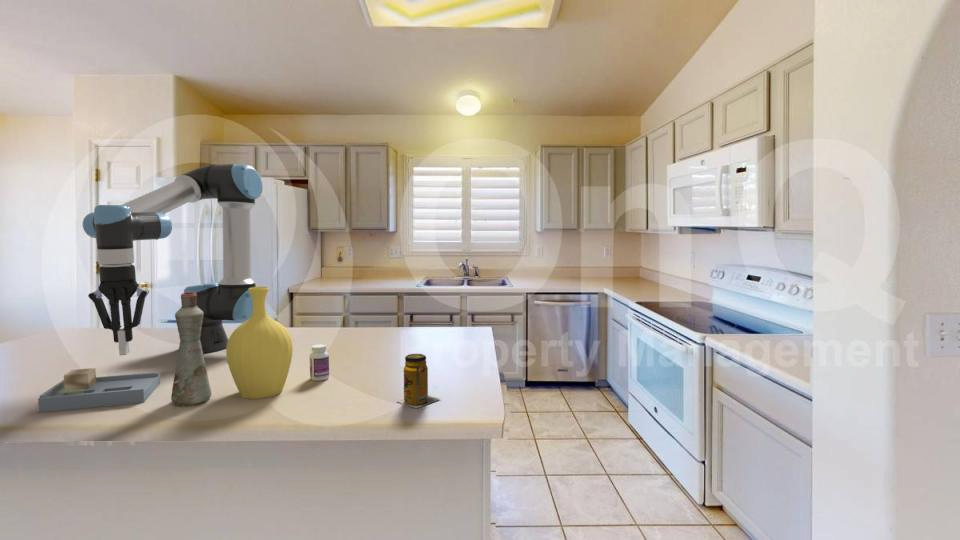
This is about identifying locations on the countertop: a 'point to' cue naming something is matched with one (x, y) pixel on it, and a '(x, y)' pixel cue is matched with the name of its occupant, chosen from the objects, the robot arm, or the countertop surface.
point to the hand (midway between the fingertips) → (124, 353)
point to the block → (80, 379)
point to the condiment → (416, 382)
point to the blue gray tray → (101, 393)
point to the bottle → (190, 356)
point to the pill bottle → (319, 363)
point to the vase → (259, 352)
